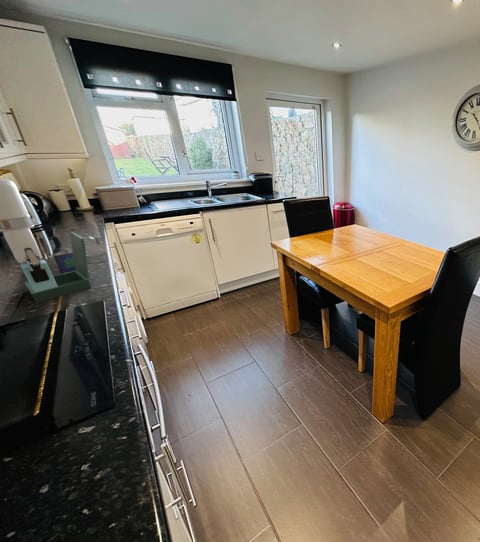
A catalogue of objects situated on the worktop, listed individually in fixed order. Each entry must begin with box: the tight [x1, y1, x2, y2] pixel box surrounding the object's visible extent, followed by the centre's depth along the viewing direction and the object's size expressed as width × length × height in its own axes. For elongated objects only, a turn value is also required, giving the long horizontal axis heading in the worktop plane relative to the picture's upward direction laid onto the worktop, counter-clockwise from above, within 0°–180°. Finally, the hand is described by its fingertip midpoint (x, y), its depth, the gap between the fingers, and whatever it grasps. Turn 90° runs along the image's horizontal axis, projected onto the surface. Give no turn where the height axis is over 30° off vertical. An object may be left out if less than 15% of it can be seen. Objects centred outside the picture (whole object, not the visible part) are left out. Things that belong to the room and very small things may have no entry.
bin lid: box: [69, 231, 97, 280], centre depth 112 cm, size 16×15×5 cm
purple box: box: [53, 247, 89, 274], centre depth 123 cm, size 9×3×11 cm, turn 148°
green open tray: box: [23, 270, 92, 304], centre depth 107 cm, size 15×15×4 cm
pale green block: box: [19, 259, 58, 292], centre depth 90 cm, size 5×4×8 cm
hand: (40, 278), depth 90 cm, fingers closed on pale green block, 4 cm apart
